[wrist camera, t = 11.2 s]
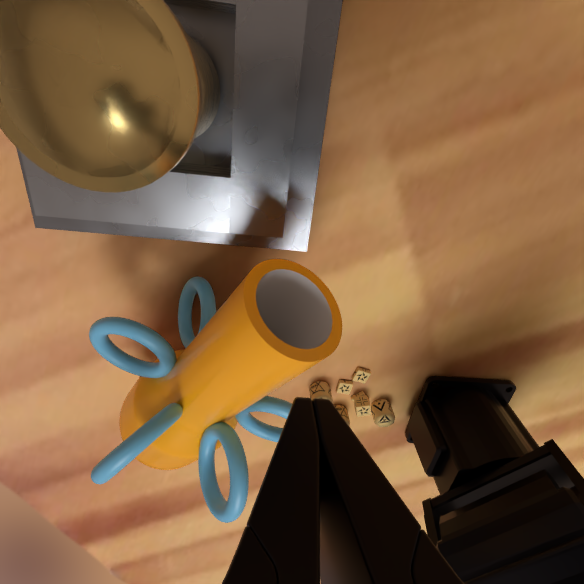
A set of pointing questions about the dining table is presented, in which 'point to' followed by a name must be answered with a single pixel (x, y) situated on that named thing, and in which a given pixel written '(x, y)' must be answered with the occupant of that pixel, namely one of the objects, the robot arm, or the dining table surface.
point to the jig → (228, 137)
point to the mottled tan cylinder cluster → (356, 399)
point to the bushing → (102, 89)
